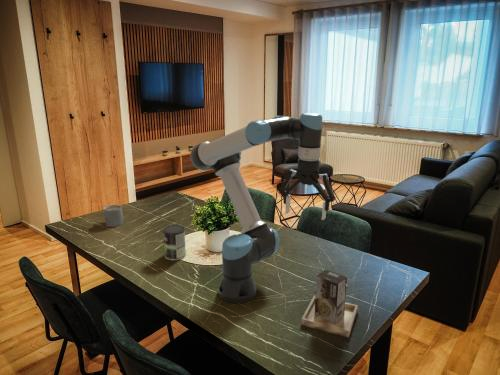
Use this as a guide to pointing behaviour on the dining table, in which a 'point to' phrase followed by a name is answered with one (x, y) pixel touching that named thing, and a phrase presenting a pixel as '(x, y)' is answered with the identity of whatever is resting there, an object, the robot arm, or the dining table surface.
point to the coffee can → (174, 242)
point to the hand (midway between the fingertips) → (305, 215)
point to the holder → (321, 324)
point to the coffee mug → (113, 215)
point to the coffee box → (330, 296)
